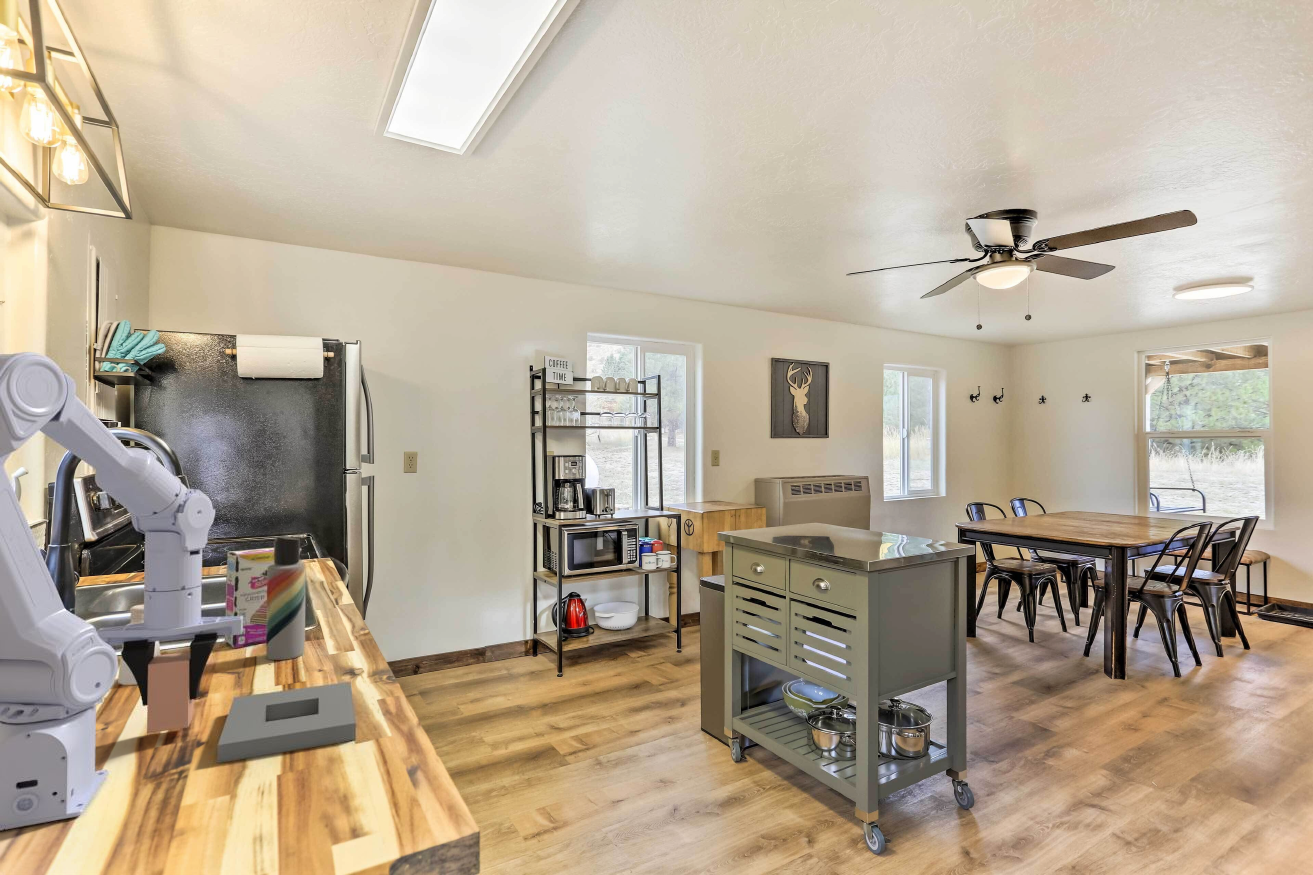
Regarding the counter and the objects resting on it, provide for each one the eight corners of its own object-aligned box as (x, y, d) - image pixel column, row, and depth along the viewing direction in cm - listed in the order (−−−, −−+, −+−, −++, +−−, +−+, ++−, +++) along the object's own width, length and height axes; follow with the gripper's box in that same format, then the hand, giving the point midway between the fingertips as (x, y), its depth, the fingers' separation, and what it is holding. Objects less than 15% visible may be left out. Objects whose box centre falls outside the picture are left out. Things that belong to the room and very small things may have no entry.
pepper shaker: (171, 674, 105) (172, 602, 105) (141, 686, 99) (143, 610, 100) (139, 672, 105) (140, 601, 105) (107, 684, 100) (109, 609, 100)
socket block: (355, 739, 82) (355, 722, 82) (217, 763, 75) (217, 744, 75) (350, 695, 96) (350, 681, 96) (233, 712, 90) (234, 697, 90)
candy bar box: (234, 649, 117) (235, 554, 118) (223, 644, 121) (224, 551, 121) (301, 636, 126) (302, 547, 126) (289, 631, 129) (291, 544, 129)
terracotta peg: (187, 727, 82) (189, 660, 82) (146, 733, 80) (148, 664, 80) (193, 715, 85) (194, 651, 85) (154, 720, 83) (155, 655, 84)
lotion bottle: (267, 652, 116) (269, 534, 116) (305, 648, 118) (306, 533, 118) (264, 662, 111) (266, 539, 111) (303, 658, 113) (305, 537, 113)
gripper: (246, 576, 90) (244, 680, 89) (107, 586, 83) (105, 698, 83) (240, 586, 83) (238, 698, 83) (90, 597, 77) (88, 718, 77)
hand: (171, 699), depth 83 cm, fingers closed on terracotta peg, 4 cm apart
